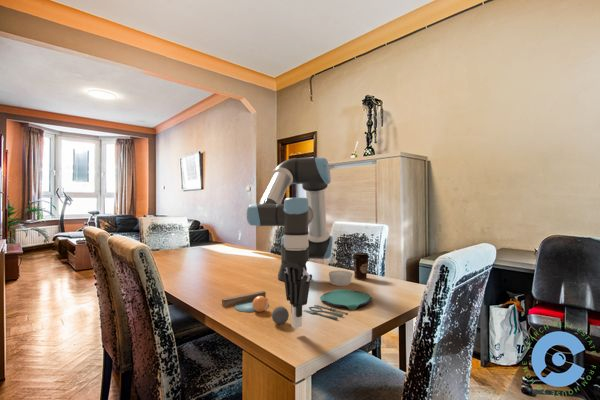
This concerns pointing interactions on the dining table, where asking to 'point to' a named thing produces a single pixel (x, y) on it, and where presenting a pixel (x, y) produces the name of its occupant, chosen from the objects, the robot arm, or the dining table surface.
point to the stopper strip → (242, 298)
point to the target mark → (246, 306)
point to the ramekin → (340, 278)
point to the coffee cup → (360, 265)
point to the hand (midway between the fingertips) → (296, 326)
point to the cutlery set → (341, 301)
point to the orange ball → (260, 303)
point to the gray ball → (280, 315)
